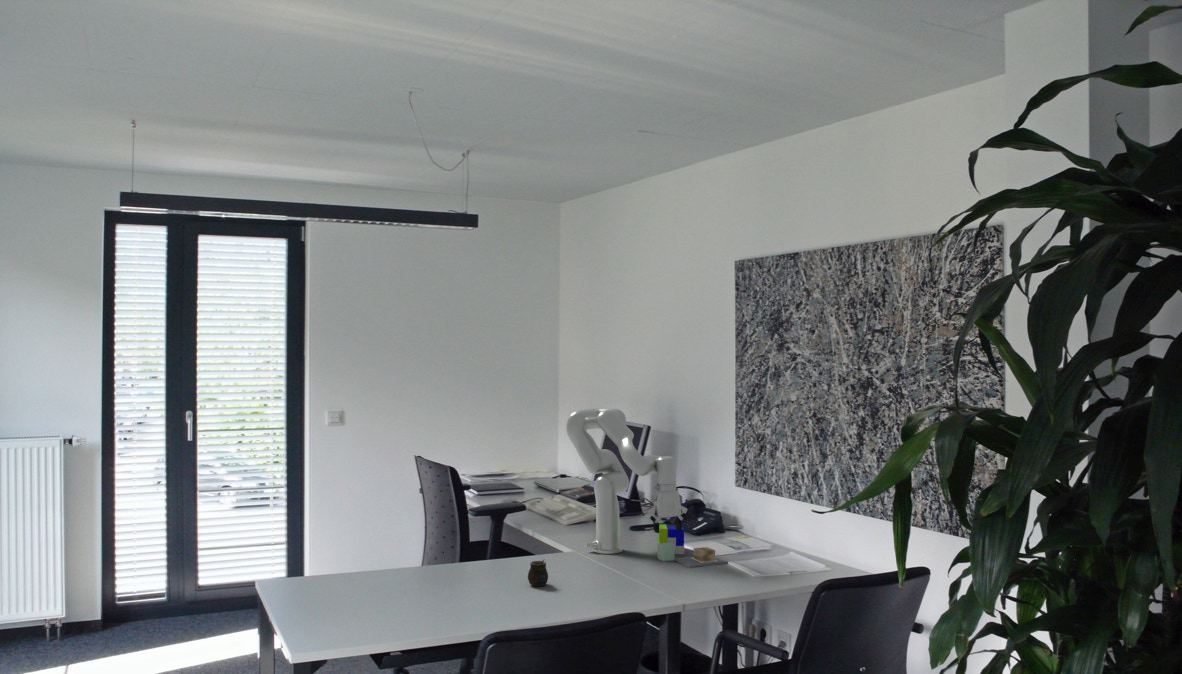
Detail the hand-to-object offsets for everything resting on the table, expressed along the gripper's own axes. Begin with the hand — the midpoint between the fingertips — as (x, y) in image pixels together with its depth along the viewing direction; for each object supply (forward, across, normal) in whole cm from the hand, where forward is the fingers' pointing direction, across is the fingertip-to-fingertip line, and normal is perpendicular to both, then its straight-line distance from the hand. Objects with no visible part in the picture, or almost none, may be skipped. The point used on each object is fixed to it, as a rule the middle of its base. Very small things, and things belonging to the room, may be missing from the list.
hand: (667, 531), depth 346 cm
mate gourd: (+11, -60, -17) cm, 63 cm away
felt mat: (+11, +10, -9) cm, 17 cm away
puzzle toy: (+11, +7, +12) cm, 18 cm away
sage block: (+11, -1, +1) cm, 11 cm away
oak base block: (+11, +11, -9) cm, 18 cm away
